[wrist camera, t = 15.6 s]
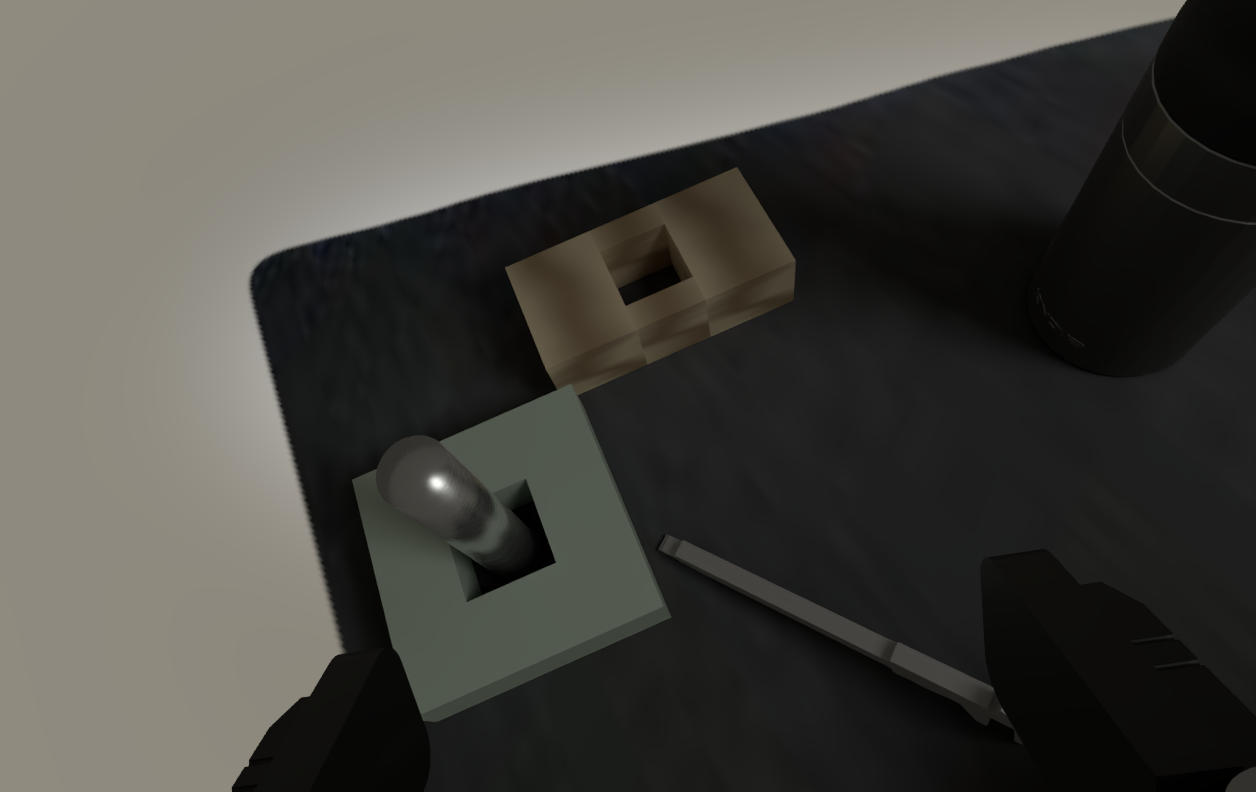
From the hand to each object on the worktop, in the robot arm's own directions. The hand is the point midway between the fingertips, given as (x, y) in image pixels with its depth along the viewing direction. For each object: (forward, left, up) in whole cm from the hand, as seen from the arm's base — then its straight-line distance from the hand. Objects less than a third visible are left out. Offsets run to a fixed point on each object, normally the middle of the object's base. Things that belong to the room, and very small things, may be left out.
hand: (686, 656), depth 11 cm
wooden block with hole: (-6, -26, -33) cm, 42 cm away
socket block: (+8, -14, -33) cm, 36 cm away
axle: (+8, -14, -33) cm, 36 cm away
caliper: (-6, -3, -33) cm, 34 cm away
